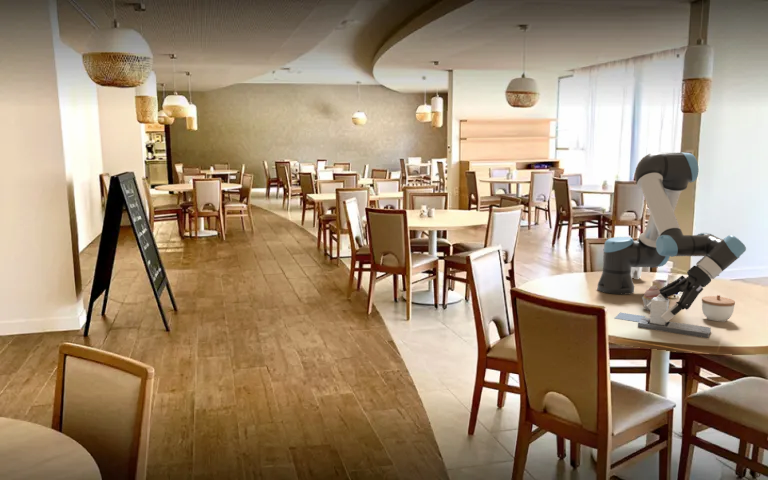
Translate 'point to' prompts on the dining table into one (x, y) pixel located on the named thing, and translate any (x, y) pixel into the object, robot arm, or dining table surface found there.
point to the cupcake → (650, 295)
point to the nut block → (658, 311)
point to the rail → (677, 328)
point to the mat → (629, 317)
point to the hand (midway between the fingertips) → (656, 313)
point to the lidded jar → (717, 308)
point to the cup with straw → (636, 272)
